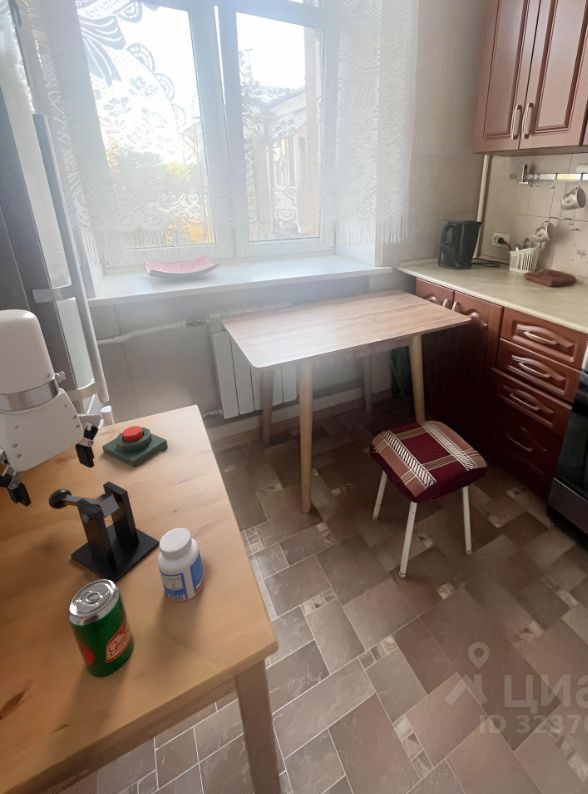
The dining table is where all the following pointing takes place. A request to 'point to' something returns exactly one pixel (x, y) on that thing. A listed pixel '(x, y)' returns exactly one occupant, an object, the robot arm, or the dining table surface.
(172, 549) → the pill bottle
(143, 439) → the control block
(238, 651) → the dining table surface
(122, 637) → the soda can
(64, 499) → the lever
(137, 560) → the bracket
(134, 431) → the button
